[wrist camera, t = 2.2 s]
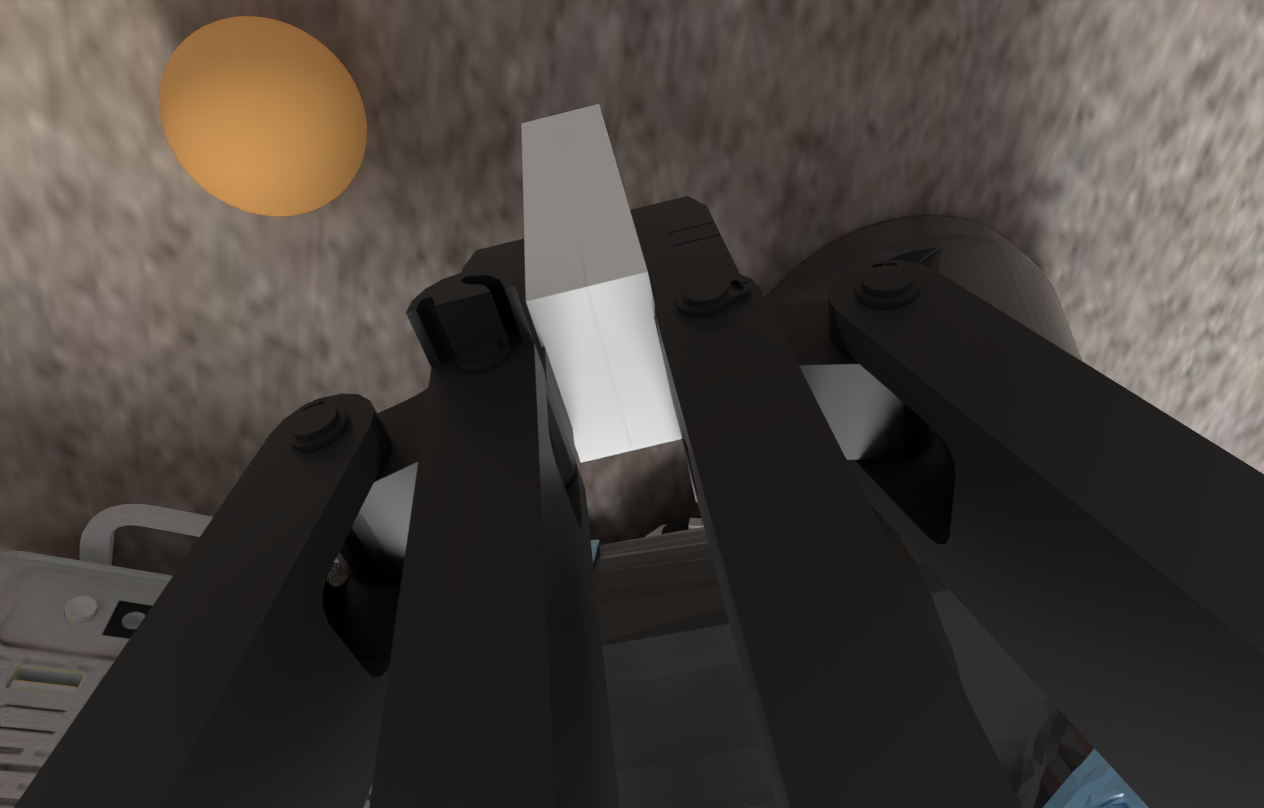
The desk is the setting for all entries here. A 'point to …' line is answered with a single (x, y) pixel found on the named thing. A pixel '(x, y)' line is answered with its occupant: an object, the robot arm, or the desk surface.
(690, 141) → the desk surface
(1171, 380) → the desk surface
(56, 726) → the network device
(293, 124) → the ball
